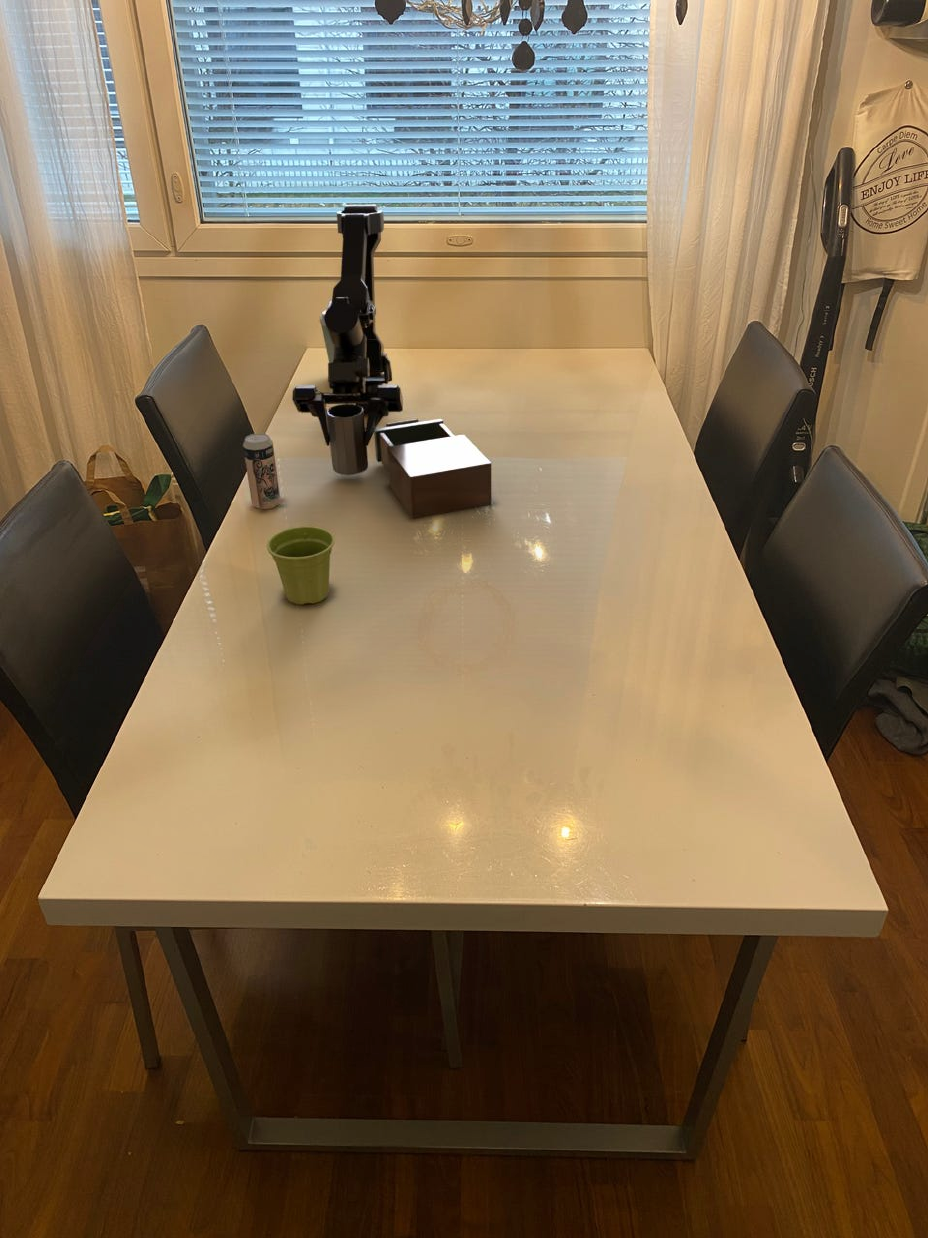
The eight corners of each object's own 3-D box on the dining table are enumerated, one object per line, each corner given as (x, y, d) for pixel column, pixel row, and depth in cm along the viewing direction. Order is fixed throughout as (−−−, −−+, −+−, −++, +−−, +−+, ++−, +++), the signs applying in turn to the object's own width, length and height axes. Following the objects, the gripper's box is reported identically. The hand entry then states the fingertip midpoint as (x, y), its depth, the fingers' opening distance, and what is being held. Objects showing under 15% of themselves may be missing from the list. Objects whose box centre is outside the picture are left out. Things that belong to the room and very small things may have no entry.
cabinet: (389, 486, 168) (386, 446, 164) (464, 473, 172) (463, 434, 168) (412, 518, 157) (410, 476, 153) (491, 504, 161) (491, 462, 157)
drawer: (369, 451, 179) (367, 420, 176) (434, 440, 182) (433, 410, 179) (395, 486, 166) (393, 454, 163) (465, 474, 170) (464, 442, 166)
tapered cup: (353, 457, 174) (348, 401, 168) (374, 467, 170) (370, 410, 164) (325, 467, 171) (319, 410, 165) (347, 478, 167) (341, 420, 161)
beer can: (265, 513, 160) (256, 446, 153) (246, 505, 162) (235, 439, 156) (286, 502, 163) (278, 436, 157) (267, 495, 166) (257, 430, 159)
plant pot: (260, 600, 137) (252, 546, 133) (304, 571, 144) (298, 519, 139) (310, 619, 133) (303, 564, 128) (353, 589, 139) (348, 536, 135)
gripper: (287, 339, 162) (283, 426, 159) (397, 338, 162) (395, 426, 158) (300, 369, 173) (297, 451, 170) (403, 368, 172) (402, 450, 169)
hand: (347, 444), depth 167 cm, fingers closed on tapered cup, 6 cm apart
